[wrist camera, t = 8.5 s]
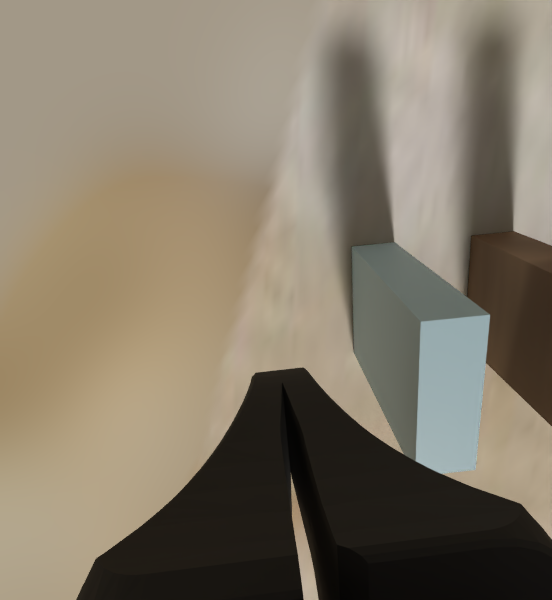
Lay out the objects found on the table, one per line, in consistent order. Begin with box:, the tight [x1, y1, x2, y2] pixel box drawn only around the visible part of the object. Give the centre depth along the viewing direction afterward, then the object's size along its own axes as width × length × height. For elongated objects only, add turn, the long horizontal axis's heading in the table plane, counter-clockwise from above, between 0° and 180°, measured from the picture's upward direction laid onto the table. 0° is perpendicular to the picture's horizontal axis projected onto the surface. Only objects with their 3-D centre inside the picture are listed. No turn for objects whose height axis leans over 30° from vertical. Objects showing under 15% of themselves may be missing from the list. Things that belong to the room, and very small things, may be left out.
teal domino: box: [352, 242, 490, 474], centre depth 14 cm, size 2×4×7 cm, turn 5°
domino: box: [467, 231, 552, 426], centre depth 15 cm, size 2×4×7 cm, turn 5°
